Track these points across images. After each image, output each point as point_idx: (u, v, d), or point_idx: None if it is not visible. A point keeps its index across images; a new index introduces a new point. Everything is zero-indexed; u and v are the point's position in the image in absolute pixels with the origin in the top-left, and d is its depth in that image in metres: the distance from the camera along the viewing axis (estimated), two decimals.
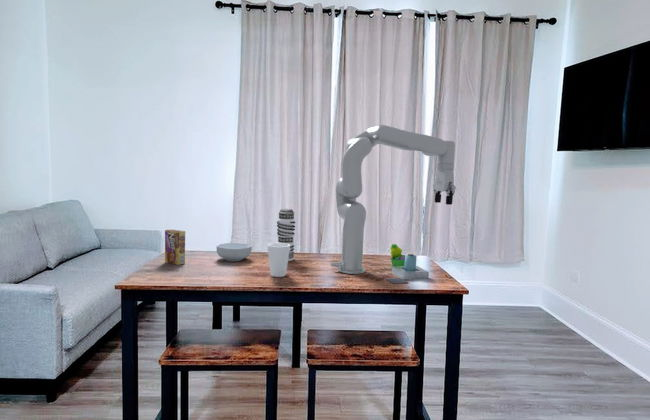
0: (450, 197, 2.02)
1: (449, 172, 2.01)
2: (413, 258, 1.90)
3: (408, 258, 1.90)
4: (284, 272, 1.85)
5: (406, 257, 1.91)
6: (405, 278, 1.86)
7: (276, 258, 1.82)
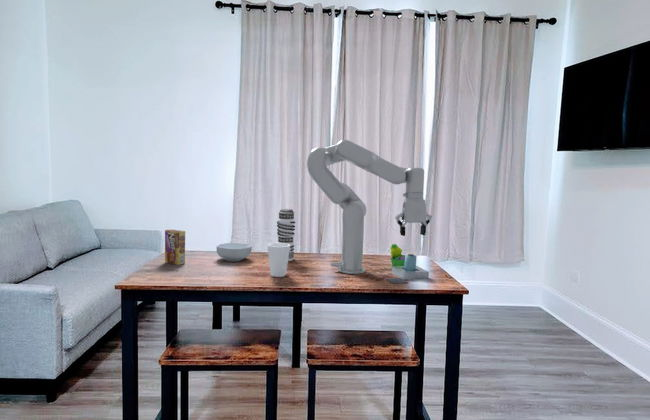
0: None
1: None
2: (413, 258, 1.90)
3: (408, 258, 1.90)
4: (284, 272, 1.85)
5: (406, 257, 1.91)
6: (405, 278, 1.86)
7: (276, 258, 1.82)
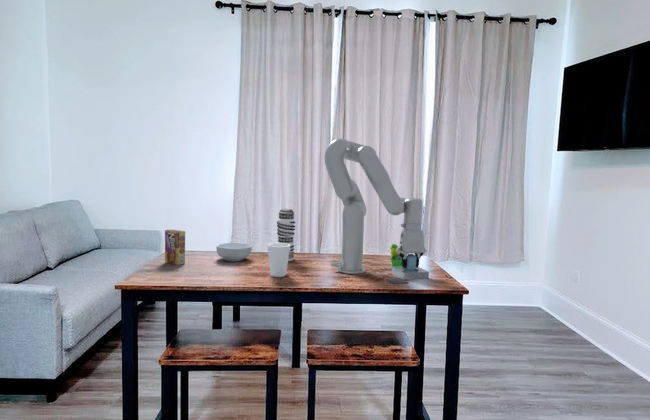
0: None
1: None
2: (413, 258, 1.90)
3: (408, 258, 1.90)
4: (284, 272, 1.85)
5: (406, 257, 1.91)
6: (405, 278, 1.86)
7: (276, 258, 1.82)
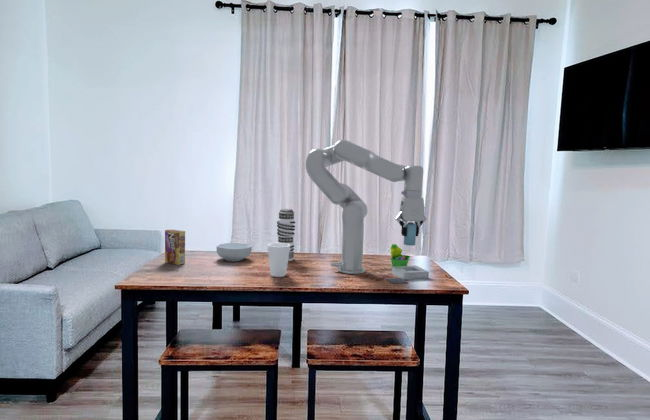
0: None
1: None
2: (413, 226, 1.87)
3: (408, 226, 1.87)
4: (284, 272, 1.85)
5: (406, 225, 1.88)
6: (405, 278, 1.86)
7: (276, 258, 1.82)
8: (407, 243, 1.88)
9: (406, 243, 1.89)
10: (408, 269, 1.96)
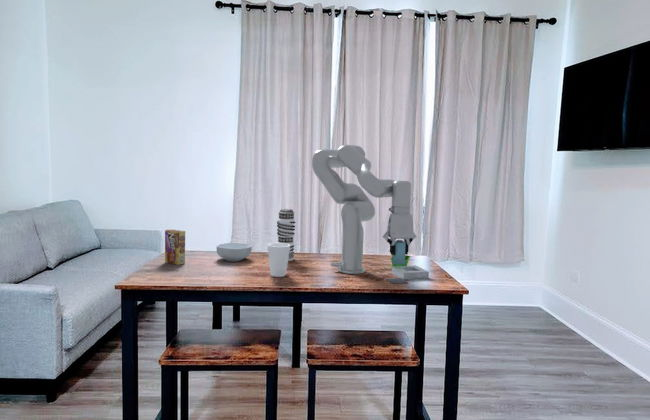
0: None
1: None
2: (402, 244, 1.78)
3: (397, 244, 1.79)
4: (284, 272, 1.85)
5: None
6: (405, 278, 1.86)
7: (276, 258, 1.82)
8: (396, 262, 1.79)
9: (395, 262, 1.80)
10: (408, 269, 1.96)
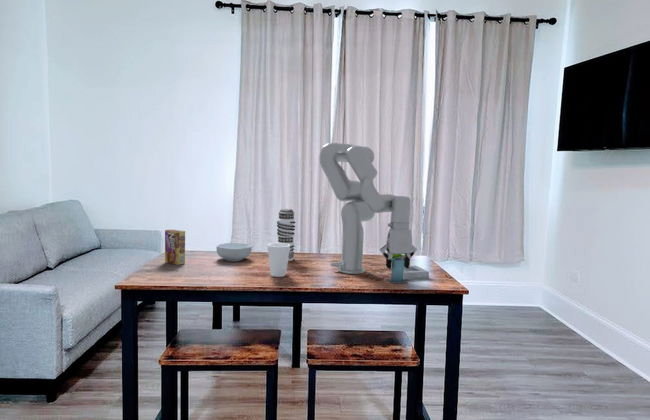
0: None
1: None
2: (400, 262, 1.79)
3: (395, 262, 1.80)
4: (284, 272, 1.85)
5: (393, 261, 1.81)
6: (405, 278, 1.86)
7: (276, 258, 1.82)
8: (394, 279, 1.81)
9: (393, 279, 1.81)
10: (408, 269, 1.96)
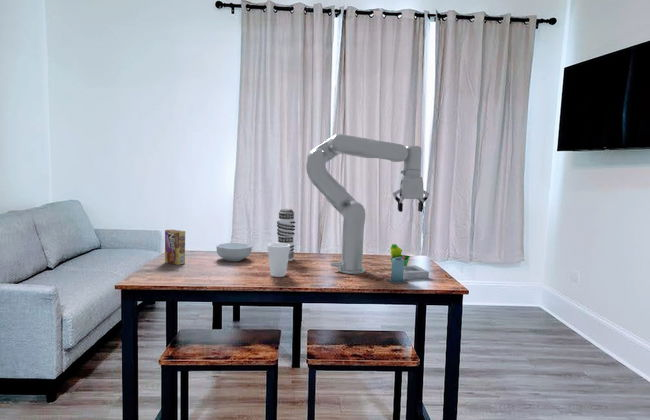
0: None
1: None
2: (400, 262, 1.79)
3: (395, 262, 1.80)
4: (284, 272, 1.85)
5: (393, 261, 1.81)
6: (405, 278, 1.86)
7: (276, 258, 1.82)
8: (394, 279, 1.81)
9: (393, 279, 1.81)
10: (408, 269, 1.96)
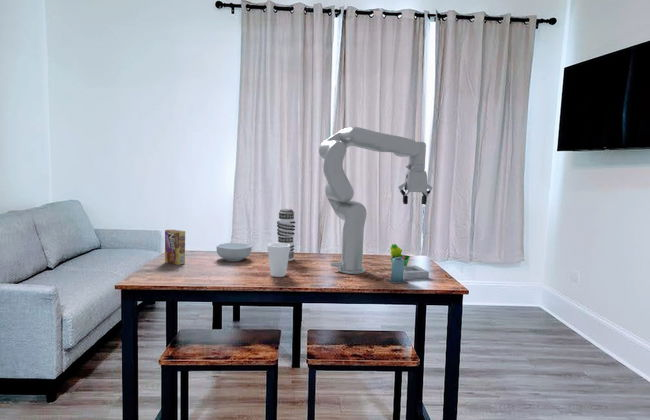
0: None
1: None
2: (400, 262, 1.79)
3: (395, 262, 1.80)
4: (284, 272, 1.85)
5: (393, 261, 1.81)
6: (405, 278, 1.86)
7: (276, 258, 1.82)
8: (394, 279, 1.81)
9: (393, 279, 1.81)
10: (408, 269, 1.96)
